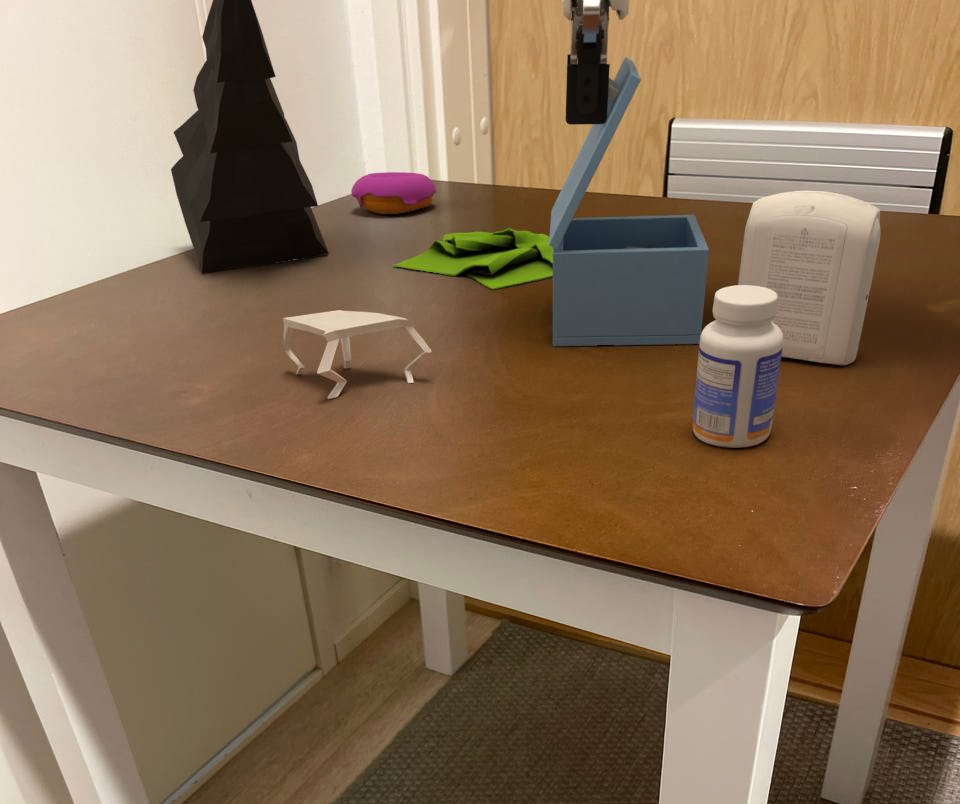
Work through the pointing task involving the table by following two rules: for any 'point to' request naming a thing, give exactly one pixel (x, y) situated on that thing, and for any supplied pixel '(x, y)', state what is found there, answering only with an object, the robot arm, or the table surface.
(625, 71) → the case lid
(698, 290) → the case
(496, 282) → the cloth
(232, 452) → the table surface
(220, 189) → the decorative tree
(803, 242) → the photo printer
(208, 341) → the table surface
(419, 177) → the donut
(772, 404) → the pill bottle
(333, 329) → the origami figure
